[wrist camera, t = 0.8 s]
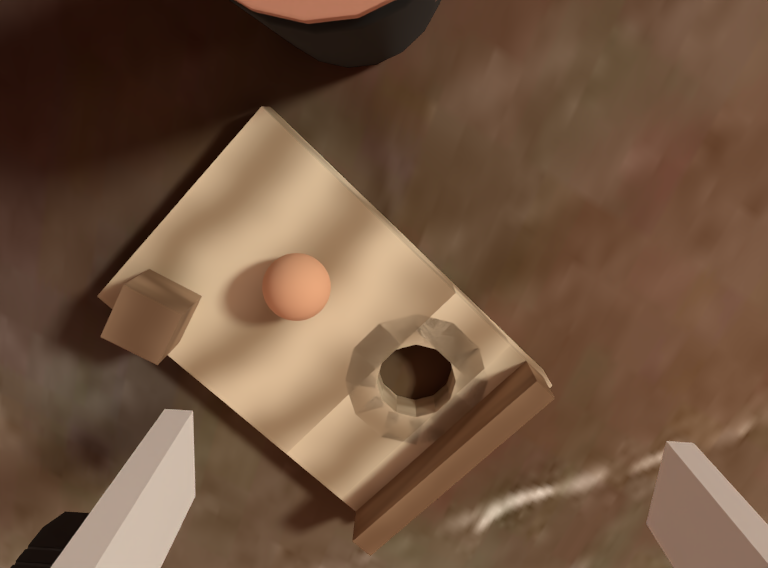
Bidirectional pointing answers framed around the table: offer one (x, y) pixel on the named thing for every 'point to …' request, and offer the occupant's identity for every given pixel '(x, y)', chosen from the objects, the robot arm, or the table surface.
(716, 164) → the table surface
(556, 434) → the table surface
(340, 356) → the board
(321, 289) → the ball
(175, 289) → the walnut cube
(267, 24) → the coffee jar
